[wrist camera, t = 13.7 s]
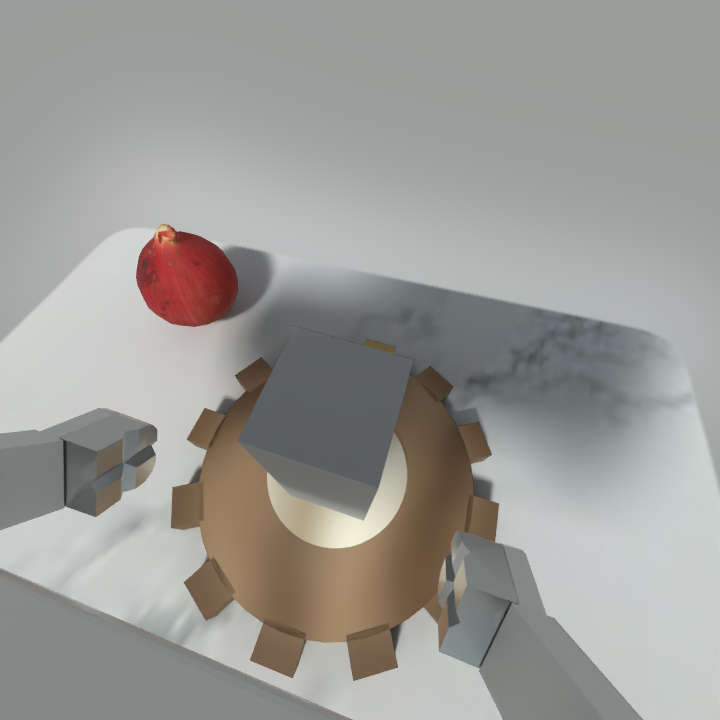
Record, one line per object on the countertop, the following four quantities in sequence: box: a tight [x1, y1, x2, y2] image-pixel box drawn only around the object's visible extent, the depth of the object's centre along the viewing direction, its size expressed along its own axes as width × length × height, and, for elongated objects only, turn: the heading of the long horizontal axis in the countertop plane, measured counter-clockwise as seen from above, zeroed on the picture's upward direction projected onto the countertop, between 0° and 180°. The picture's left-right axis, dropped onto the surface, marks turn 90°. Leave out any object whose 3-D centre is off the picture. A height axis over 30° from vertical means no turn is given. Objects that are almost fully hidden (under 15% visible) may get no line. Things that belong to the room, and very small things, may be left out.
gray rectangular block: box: [237, 326, 413, 521], centre depth 14 cm, size 4×4×10 cm
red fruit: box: [136, 224, 238, 327], centre depth 22 cm, size 6×6×8 cm
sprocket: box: [171, 339, 499, 681], centre depth 20 cm, size 18×18×2 cm
